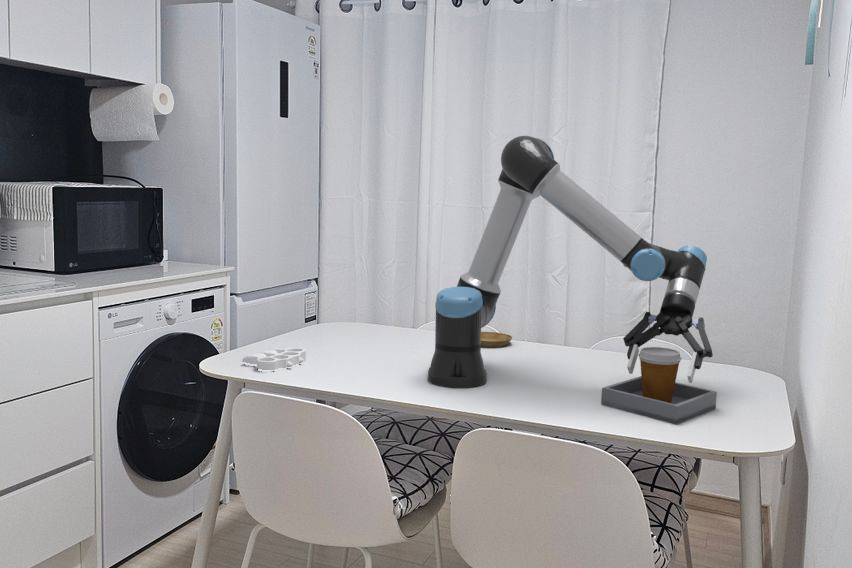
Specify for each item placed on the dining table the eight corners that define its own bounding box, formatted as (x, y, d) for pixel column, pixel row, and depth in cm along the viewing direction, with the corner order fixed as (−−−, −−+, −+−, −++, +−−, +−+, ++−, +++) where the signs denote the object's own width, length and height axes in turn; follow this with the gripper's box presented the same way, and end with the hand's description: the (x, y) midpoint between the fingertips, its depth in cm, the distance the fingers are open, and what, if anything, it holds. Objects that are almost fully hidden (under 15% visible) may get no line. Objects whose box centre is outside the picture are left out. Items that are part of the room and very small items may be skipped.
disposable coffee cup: (684, 408, 174) (687, 356, 172) (642, 407, 174) (645, 355, 172) (670, 396, 183) (674, 347, 182) (631, 395, 183) (633, 346, 182)
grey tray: (601, 404, 179) (601, 387, 178) (642, 390, 191) (643, 375, 191) (676, 424, 165) (677, 406, 165) (715, 408, 178) (716, 391, 177)
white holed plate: (275, 356, 223) (317, 362, 216) (234, 369, 207) (279, 376, 200) (275, 344, 222) (317, 350, 216) (234, 357, 206) (279, 363, 200)
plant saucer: (488, 337, 254) (488, 329, 253) (521, 345, 243) (522, 337, 242) (455, 342, 244) (455, 334, 244) (488, 351, 233) (489, 343, 233)
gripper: (735, 316, 183) (717, 392, 172) (631, 305, 196) (609, 375, 185) (732, 297, 178) (714, 373, 167) (626, 287, 190) (602, 358, 180)
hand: (659, 374), depth 176 cm, fingers open, 13 cm apart
